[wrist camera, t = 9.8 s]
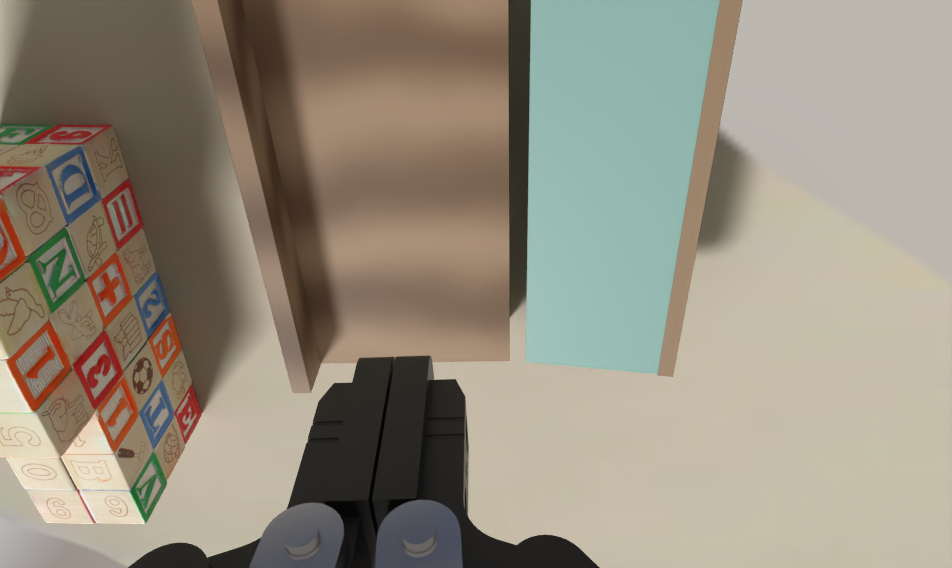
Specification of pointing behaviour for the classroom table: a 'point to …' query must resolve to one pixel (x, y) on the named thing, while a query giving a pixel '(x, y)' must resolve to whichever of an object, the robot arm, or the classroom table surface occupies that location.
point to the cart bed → (371, 171)
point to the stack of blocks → (84, 332)
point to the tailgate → (619, 173)
